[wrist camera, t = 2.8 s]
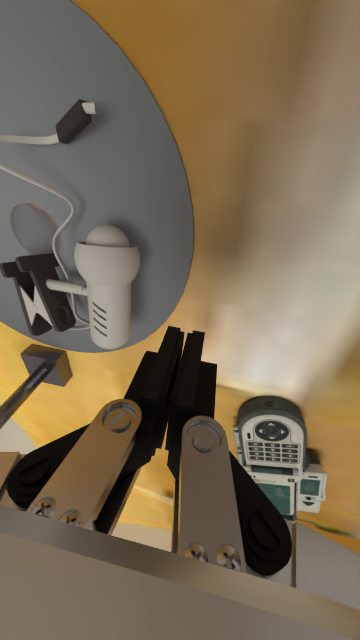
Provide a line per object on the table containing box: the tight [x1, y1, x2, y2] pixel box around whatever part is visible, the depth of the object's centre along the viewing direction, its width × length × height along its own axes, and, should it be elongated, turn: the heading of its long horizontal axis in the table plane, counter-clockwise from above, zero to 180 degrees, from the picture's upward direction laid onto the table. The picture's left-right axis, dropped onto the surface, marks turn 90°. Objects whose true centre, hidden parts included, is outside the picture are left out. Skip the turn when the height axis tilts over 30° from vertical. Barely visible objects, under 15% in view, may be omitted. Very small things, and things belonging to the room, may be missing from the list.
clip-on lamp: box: [0, 99, 140, 349], centre depth 19 cm, size 12×6×18 cm
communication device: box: [233, 397, 327, 521], centre depth 31 cm, size 12×24×9 cm, turn 14°
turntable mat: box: [0, 0, 194, 353], centre depth 21 cm, size 30×30×1 cm
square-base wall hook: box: [0, 344, 72, 429], centre depth 26 cm, size 6×5×15 cm
